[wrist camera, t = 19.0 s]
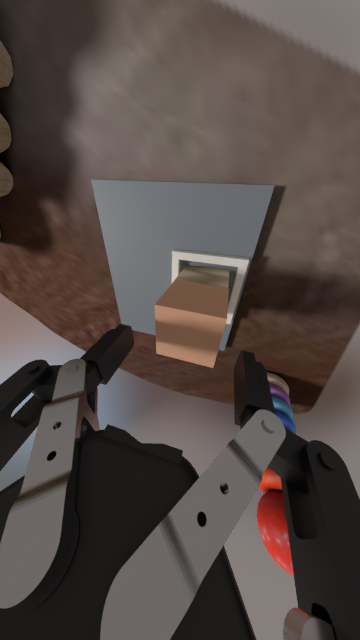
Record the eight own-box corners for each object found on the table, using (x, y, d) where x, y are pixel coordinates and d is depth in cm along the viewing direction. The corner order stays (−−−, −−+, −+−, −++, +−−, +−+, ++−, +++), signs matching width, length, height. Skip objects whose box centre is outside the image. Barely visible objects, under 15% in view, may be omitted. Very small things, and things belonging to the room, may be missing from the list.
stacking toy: (293, 395, 28) (361, 607, 13) (246, 398, 32) (258, 563, 17) (279, 365, 25) (347, 594, 10) (230, 373, 29) (228, 545, 14)
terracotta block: (173, 321, 18) (156, 353, 14) (175, 279, 15) (154, 304, 11) (217, 331, 17) (213, 367, 13) (228, 288, 14) (227, 318, 10)
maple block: (184, 301, 22) (173, 321, 18) (186, 265, 19) (174, 279, 15) (220, 307, 21) (217, 330, 17) (229, 270, 18) (228, 287, 14)
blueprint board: (125, 324, 29) (119, 331, 28) (97, 181, 17) (84, 178, 16) (224, 346, 26) (223, 355, 24) (272, 186, 14) (277, 183, 12)
